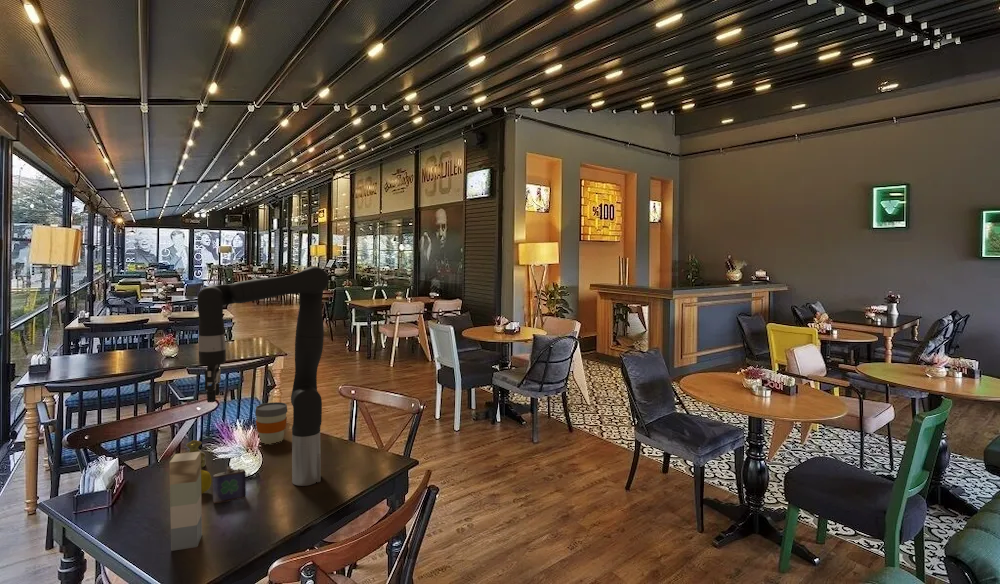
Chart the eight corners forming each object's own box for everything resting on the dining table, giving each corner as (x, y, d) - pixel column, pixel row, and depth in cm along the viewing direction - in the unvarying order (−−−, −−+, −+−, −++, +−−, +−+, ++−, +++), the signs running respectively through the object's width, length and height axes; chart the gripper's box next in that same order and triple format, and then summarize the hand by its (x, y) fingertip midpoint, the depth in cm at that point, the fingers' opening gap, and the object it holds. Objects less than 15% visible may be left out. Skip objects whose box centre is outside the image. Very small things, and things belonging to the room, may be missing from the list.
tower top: (201, 493, 138) (201, 472, 138) (196, 503, 133) (196, 481, 132) (176, 496, 136) (175, 475, 136) (170, 506, 131) (169, 484, 130)
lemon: (202, 498, 160) (202, 474, 160) (188, 496, 161) (187, 472, 161) (215, 491, 165) (215, 467, 165) (201, 489, 167) (201, 465, 166)
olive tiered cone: (209, 466, 185) (209, 439, 185) (188, 472, 179) (188, 445, 178) (199, 461, 189) (199, 435, 189) (178, 468, 183) (178, 441, 182)
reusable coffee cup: (289, 443, 210) (289, 408, 209) (256, 448, 204) (256, 412, 203) (285, 434, 221) (285, 400, 220) (254, 438, 215) (254, 404, 214)
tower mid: (201, 514, 139) (201, 493, 138) (196, 525, 133) (196, 503, 133) (176, 517, 137) (176, 496, 136) (170, 529, 131) (170, 506, 131)
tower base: (201, 535, 139) (201, 514, 139) (197, 546, 133) (197, 525, 133) (176, 539, 137) (176, 517, 137) (171, 550, 131) (170, 528, 131)
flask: (213, 504, 156) (212, 471, 156) (213, 500, 159) (212, 467, 158) (246, 498, 161) (245, 465, 161) (245, 494, 164) (245, 462, 163)
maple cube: (201, 472, 138) (200, 451, 138) (196, 481, 132) (195, 459, 132) (175, 475, 136) (175, 453, 135) (169, 484, 130) (169, 462, 130)
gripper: (222, 351, 154) (223, 403, 155) (228, 344, 167) (229, 392, 168) (194, 353, 151) (195, 405, 152) (202, 345, 164) (204, 394, 165)
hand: (213, 398), depth 160 cm, fingers open, 8 cm apart
